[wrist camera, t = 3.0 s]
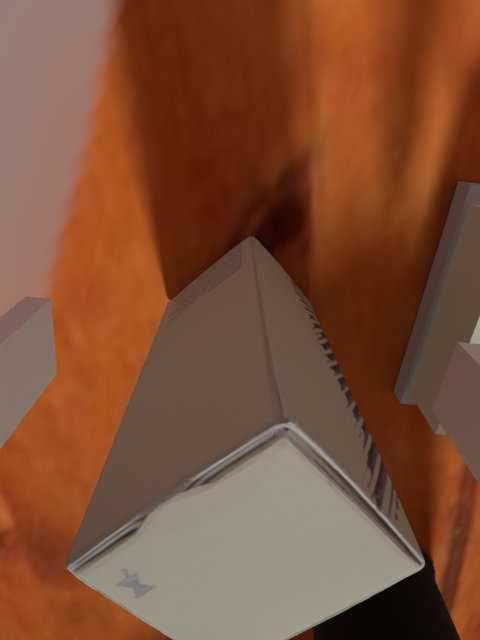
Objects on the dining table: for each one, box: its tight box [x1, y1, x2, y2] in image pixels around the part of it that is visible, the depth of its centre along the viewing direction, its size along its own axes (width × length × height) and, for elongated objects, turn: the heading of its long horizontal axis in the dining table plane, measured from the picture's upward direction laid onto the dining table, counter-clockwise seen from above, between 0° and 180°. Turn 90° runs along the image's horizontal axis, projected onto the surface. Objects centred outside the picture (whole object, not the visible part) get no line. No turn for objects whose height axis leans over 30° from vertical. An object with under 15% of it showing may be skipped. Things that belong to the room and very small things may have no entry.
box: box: [66, 236, 425, 640], centre depth 13 cm, size 5×4×13 cm
